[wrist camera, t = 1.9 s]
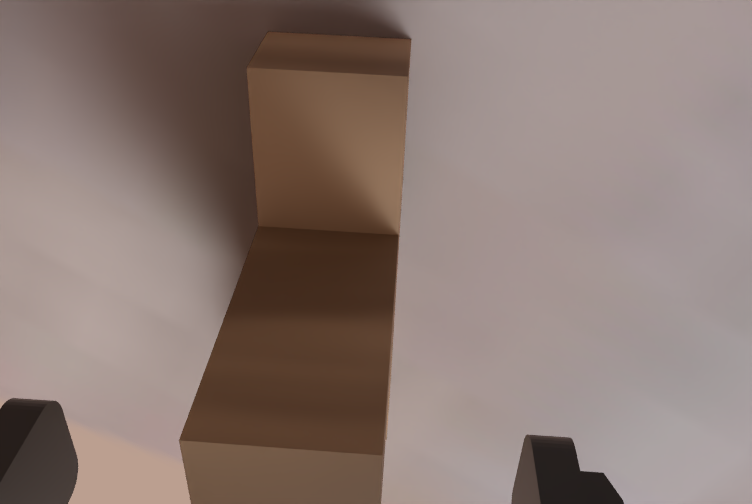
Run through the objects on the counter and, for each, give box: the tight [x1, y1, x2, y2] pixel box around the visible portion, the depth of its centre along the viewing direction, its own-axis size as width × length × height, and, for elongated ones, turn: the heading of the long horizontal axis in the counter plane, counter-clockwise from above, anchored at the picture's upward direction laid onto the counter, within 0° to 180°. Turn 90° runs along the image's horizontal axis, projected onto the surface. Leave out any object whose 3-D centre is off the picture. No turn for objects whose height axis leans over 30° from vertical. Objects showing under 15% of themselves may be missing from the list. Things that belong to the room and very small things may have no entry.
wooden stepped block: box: [179, 32, 411, 504], centre depth 15 cm, size 10×3×8 cm, turn 178°
